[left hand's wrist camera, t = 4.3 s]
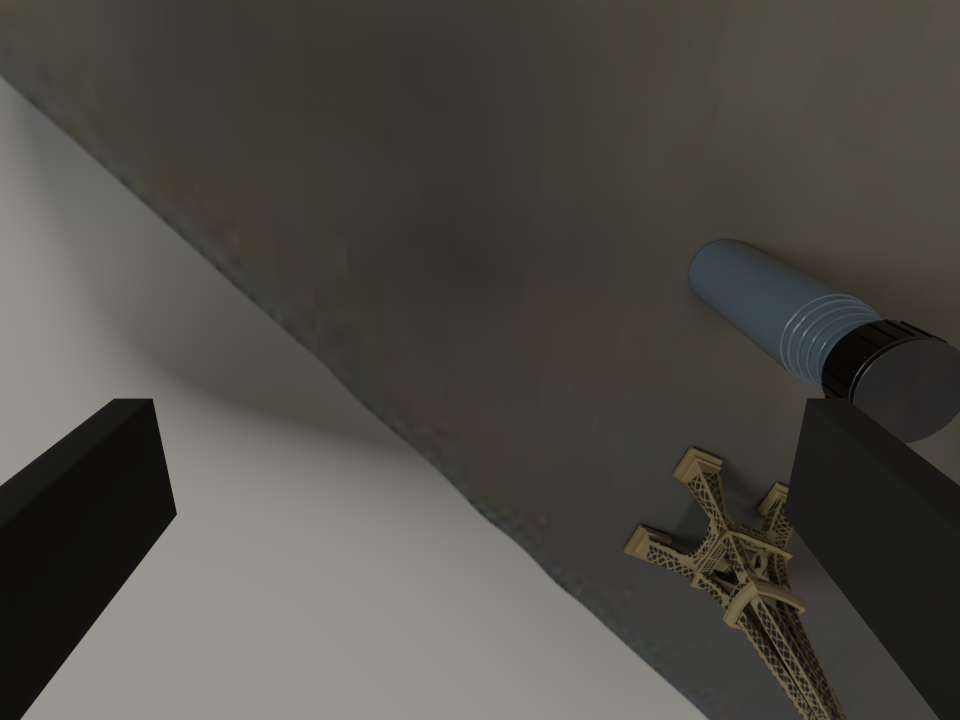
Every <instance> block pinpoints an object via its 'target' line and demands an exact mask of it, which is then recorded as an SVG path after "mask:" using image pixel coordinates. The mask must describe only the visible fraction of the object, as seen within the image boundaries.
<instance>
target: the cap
mask: <svg viewBox="0 0 960 720" xmlns="http://www.w3.org/2000/svg"><path fill="white" fill-rule="evenodd" d="M821 382H822V383H821V385H822V388H823V392H824V394H825V398H826V399H847V400H848V401H849V402H851V403H852V404H853V405H855V406H856V407H857V408H859V409H860V410H861V411H862V412H864V413H865V414H866V415H868V416H869V417H870V418H872V419H873V420H874V421H875V422H877V423H878V424H879V425H881V426H882V427H883V428H885V429H886V430H887V431H888V432H890V433H891V434H892V435H894V436H895V437H896V438H898V439H899V440H900V441H902V442H903V443H910V442H914V441H918V440H921V439H924V438H926V437H928V436H930V435H933V434H934V433H936V432H938V431H939V430H941V429H942V428H943V427H945V426H946V425H947V424H948V423H949V422H950V421H952V420H953V418H954V417H955V416H956V415H957V414H958V412H959V411H960V352H959V351H958V350H957V349H956V348H954V347H953V346H951V345H949V344H948V342H946V341H944V340H942V339H940V338H938V337H936V336H934V335H932V334H930V333H928V332H925V331H923V330H921V329H919V328H917V327H914V326H912V325H910V324H908V323H906V322H904V321H901V322H899V321H895V320H887V319H885V320H879V321H873V322H869V323H866V324H864V325H861V326H859V327H857V328H855V329H853V330H851V331H850V332H848V333H847V334H846V335H844V336H843V337H842V338H841V339H840V340H839V341H838V342H837V343H836V344H835V345H834V347H833V348H832V349H831V351H830V352H829V354H828V355H827V358H826V360H825V362H824V365H823V368H822V374H821Z"/></svg>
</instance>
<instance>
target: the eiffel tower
mask: <svg viewBox="0 0 960 720" xmlns="http://www.w3.org/2000/svg"><path fill="white" fill-rule="evenodd" d="M722 462H723V460H722V459H720V458H718V457H716V456H713V455H711V454H708V453H706V452H704V451H701V450H699V449H696V448H694V447H692V446H690V448H689V450H688V451H687V453H686V454H685V456H684V457H683V459H682V460H681V462H680V463H679V465H678V466H677V468H676V470H675V471H674V473H673V474H672V475H673V477H675V478H678V479H679V481H681V482H683V483H685V484H686V485H687V486H688V488H689V489H690V490H691V492H692V493H693V495H694V496H695V497H696V499H697V500H698V502H699V503H700V505H701V506H702V507H703V509H704V510H705V512H706V513H707V514H708V516H709V517H710V519H711V521H710V524H709V527H708V530H707V532H706V534H705V537H704V539H703V541H702V543H701V544H700V545H699V547H698V548H696V549H695V550H694V551H692V552H691V553H690V554H689V553H687V552H685V551H683V550H681V549H679V548H676V547H674V546H672V545H670V543H671V542H672V540H671V538H670V536H668V535H666V534H663V533H661V532H658V531H656V530H653V529H651V528H648V527H645V526H643V525H639V526H638V528H637V530H636V531H635V533H634V534H633V536H632V537H631V539H630V540H629V542H628V543H627V545H626V547H625V548H624V553H627V554H629V555H632V556H635V557H637V558H640V559H643V560H645V561H648V562H650V563H653V564H654V563H657V564H659V565H661V566H663V567H666V568H668V569H670V570H673V571H675V572H678V573H680V574H682V575H685V576H687V577H689V578H691V582H690V586H692V587H695V588H699V589H703V590H705V591H707V592H708V593H709V594H710V595H711V596H712V597H713V598H714V599H715V600H716V601H717V602H718V603H719V604H720V605H721V606H722V607H723V608H724V609H725V610H726V613H725V615H724V617H723V620H724V621H725V622H726V623H727V624H728V625H729V626H730V627H733V628H737V629H742V630H743V632H744V633H745V635H746V636H747V638H748V639H749V640H750V642H751V643H752V645H753V646H754V648H755V649H756V651H757V652H758V653H759V655H760V656H761V658H762V659H763V661H764V662H765V663H766V665H767V666H768V668H769V669H770V671H771V672H772V674H773V675H774V676H775V678H776V679H777V681H778V682H779V684H780V685H781V686H782V688H783V689H784V691H785V692H786V694H787V695H788V697H789V698H790V700H791V701H792V702H793V704H794V705H795V707H796V708H797V710H798V711H799V713H800V714H801V716H802V717H803V718H804V720H847V718H846V716H845V713H844V711H843V709H842V707H841V705H840V703H839V701H838V698H837V696H836V694H835V692H834V690H833V688H832V686H831V684H830V681H829V679H828V677H827V675H826V673H825V671H824V668H823V666H822V664H821V662H820V660H819V657H818V655H817V653H816V651H815V649H814V646H813V644H812V642H811V640H810V638H809V635H808V633H807V631H806V629H805V627H804V624H803V622H802V620H801V618H800V615H801V614H802V613H803V612H804V611H806V606H805V601H804V600H803V599H801V598H799V597H797V596H796V595H794V594H792V590H791V587H790V583H789V579H788V575H787V562H788V561H789V560H790V559H791V558H792V557H793V556H792V555H790V554H789V553H787V552H785V551H784V550H785V548H786V545H787V543H788V540H789V538H790V535H791V533H792V530H793V527H792V525H791V524H790V523H789V521H788V520H787V519H786V518H785V516H784V515H783V512H784V507H785V503H786V498H787V493H788V488H789V487H787V486H785V485H782V484H780V483H778V482H777V483H776V484H775V486H774V487H773V489H772V490H771V491H770V493H769V494H768V495H767V497H766V498H765V500H764V501H763V502H762V504H761V505H760V506H759V508H758V511H759V512H760V514H762V515H764V516H766V517H765V520H764V523H763V527H762V530H761V531H757V530H754V529H751V528H749V527H747V526H745V525H744V524H742V523H740V522H738V521H737V520H735V519H733V518H732V517H731V516H729V515H728V514H727V509H726V503H725V498H724V492H723V487H722V481H721V476H720V472H719V471H720V470H721V467H720V465H721V464H722ZM746 550H748V551H751V552H753V553H755V554H754V556H753V558H752V559H751V560H750V559H749V556H748V554H747V552H746ZM726 552H727V554H728V556H729V558H730V559H727V558H725V557H723V556H724V555H725V553H726Z"/></svg>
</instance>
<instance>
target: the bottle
mask: <svg viewBox="0 0 960 720" xmlns="http://www.w3.org/2000/svg"><path fill="white" fill-rule="evenodd" d="M689 282H690V286H691V288H692V290H693V292H694V293H695V295H696V296H697V297H698V298H699V299H701V300H702V301H703V302H704V303H705V304H707V305H708V306H709V307H710V308H711V309H713V310H714V311H715V312H716V313H718V314H719V315H720V316H721V317H722V318H724V319H725V320H726V321H727V322H728V323H730V324H731V325H732V326H733V327H734V328H736V329H737V330H738V331H739V332H741V333H742V334H743V335H744V336H745V337H747V338H748V339H749V340H750V341H751V342H753V343H754V344H755V345H756V346H757V347H759V348H760V349H761V350H762V351H764V352H765V353H766V354H767V355H768V356H770V357H771V358H772V359H773V360H774V361H776V362H777V363H778V364H779V365H781V366H782V367H783V368H784V369H785V370H787V371H788V372H789V373H790V374H791V375H793V376H794V377H795V378H797V379H799V380H801V381H803V382H804V383H806V384H808V385H811V386H814V387H816V388H819V389H823V388H822V385H821V383H822V382H821V374H822V368H823V365H824V362H825V360H826V358H827V355H828V354H829V352H830V351H831V349H832V348H833V347H834V345H835V344H836V343H837V342H838V341H839V340H840V339H841V338H842V337H843V336H844V335H846V334H847V333H848V332H850V331H851V330H853V329H855V328H857V327H859V326H861V325H864V324H866V323H869V322H873V321H879V320H883V319H882V318H881V317H880V316H879V315H878V314H877V313H876V311H875V310H874V309H873V308H871V307H870V306H869V305H867V304H866V303H864V302H863V301H862V300H860V299H858V298H857V297H855V296H852V295H850V294H848V293H846V292H844V291H842V290H840V289H838V288H836V287H834V286H832V285H829V284H827V283H825V282H823V281H821V280H819V279H817V278H815V277H813V276H811V275H809V274H806V273H804V272H802V271H800V270H798V269H796V268H794V267H792V266H790V265H788V264H786V263H783V262H781V261H779V260H777V259H775V258H773V257H771V256H769V255H767V254H765V253H763V252H760V251H758V250H756V249H754V248H752V247H750V246H748V245H746V244H744V243H742V242H739V241H737V240H732V239H723V240H718V241H715V242H712V243H710V244H708V245H707V246H705V247H704V248H703V249H702V250H701V251H700V252H699V253H698V254H697V255H696V257H695V258H694V260H693V262H692V264H691V267H690V271H689Z"/></svg>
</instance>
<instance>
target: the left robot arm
mask: <svg viewBox="0 0 960 720" xmlns="http://www.w3.org/2000/svg"><path fill="white" fill-rule="evenodd" d="M176 515H177V512H176V507H175V503H174V498H173V493H172V488H171V484H170V479H169V474H168V470H167V465H166V460H165V455H164V451H163V446H162V441H161V436H160V432H159V427H158V423H157V418H156V413H155V408H154V403H153V399H113V400H112V401H111V402H109V403H108V404H107V405H105V406H104V407H103V408H101V409H100V410H99V411H98V412H96V413H95V414H94V415H92V416H91V417H90V418H88V419H87V420H86V421H85V422H83V423H82V424H81V425H79V426H78V427H77V428H75V429H74V430H73V431H72V432H70V433H69V434H68V435H66V436H65V437H64V438H62V439H61V440H60V441H58V442H57V443H56V444H55V445H53V446H52V447H51V448H49V449H48V450H47V451H46V452H44V453H43V454H42V455H40V456H39V457H38V458H36V459H35V460H34V461H32V462H31V463H30V464H29V465H27V466H26V467H25V468H23V469H22V470H21V471H20V472H18V473H17V474H16V475H14V476H13V477H12V478H10V479H9V480H8V481H7V482H5V483H4V484H3V485H1V486H0V720H20V719H21V718H22V717H23V715H24V714H25V713H26V711H27V710H28V709H29V707H30V706H31V705H32V704H33V702H34V701H35V700H36V698H37V697H38V696H39V694H40V693H41V692H42V690H43V689H44V688H45V686H46V685H47V684H48V682H49V681H50V680H51V679H52V677H53V676H54V675H55V673H56V672H57V671H58V669H59V668H60V667H61V665H62V664H63V663H64V662H65V660H66V659H67V658H68V656H69V655H70V654H71V652H72V651H73V650H74V649H75V647H76V646H77V645H78V643H79V642H80V641H81V639H82V638H83V637H84V635H85V634H86V633H87V631H88V630H89V629H90V628H91V626H92V625H93V624H94V622H95V621H96V620H97V618H98V617H99V616H100V614H101V613H102V612H103V611H104V609H105V608H106V607H107V605H108V604H109V603H110V601H111V600H112V599H113V597H114V596H115V595H116V593H117V592H118V591H119V590H120V588H121V587H122V586H123V584H124V583H125V582H126V580H127V579H128V578H129V576H130V575H131V574H132V573H133V571H134V570H135V569H136V567H137V566H138V565H139V563H140V562H141V561H142V559H143V558H144V557H145V555H146V554H147V553H148V551H149V550H150V549H151V548H152V546H153V545H154V544H155V542H156V541H157V540H158V538H159V537H160V536H161V535H162V533H163V532H164V531H165V529H166V528H167V527H168V525H169V524H170V523H171V521H172V520H173V519H174V518H175V516H176ZM783 515H784V516H785V518H786V519H787V520H788V521H789V523H790V524H791V525H792V527H793V528H794V529H795V531H796V532H797V533H798V535H799V536H800V537H801V538H802V540H803V541H804V542H805V544H806V545H807V546H808V548H809V549H810V550H811V552H812V553H813V554H814V556H815V557H816V558H817V559H818V561H819V562H820V563H821V565H822V566H823V567H824V569H825V570H826V571H827V573H828V574H829V575H830V576H831V578H832V579H833V580H834V582H835V583H836V584H837V586H838V587H839V588H840V590H841V591H842V592H843V593H844V595H845V596H846V597H847V599H848V600H849V601H850V603H851V604H852V605H853V607H854V608H855V609H856V611H857V612H858V613H859V614H860V616H861V617H862V618H863V620H864V621H865V622H866V624H867V625H868V626H869V628H870V629H871V630H872V631H873V633H874V634H875V635H876V637H877V638H878V639H879V641H880V642H881V643H882V645H883V646H884V647H885V649H886V650H887V651H888V652H889V654H890V655H891V656H892V658H893V659H894V660H895V662H896V663H897V664H898V666H899V667H900V668H901V669H902V671H903V672H904V673H905V675H906V676H907V677H908V679H909V680H910V681H911V683H912V684H913V685H914V686H915V688H916V689H917V690H918V692H919V693H920V694H921V696H922V697H923V698H924V700H925V701H926V702H927V704H928V705H929V706H930V707H931V709H932V710H933V711H934V713H935V714H936V715H937V717H938V718H939V719H940V720H960V486H959V485H957V484H956V483H955V482H954V481H952V480H951V479H950V478H948V477H947V476H946V475H944V474H943V473H942V472H941V471H939V470H938V469H937V468H935V467H934V466H933V465H931V464H930V463H929V462H928V461H926V460H925V459H924V458H922V457H921V456H920V455H918V454H917V453H916V452H915V451H913V450H912V449H911V448H909V447H908V446H907V445H905V444H904V443H903V442H902V441H900V440H899V439H898V438H896V437H895V436H894V435H892V434H891V433H890V432H888V431H887V430H886V429H885V428H883V427H882V426H881V425H879V424H878V423H877V422H875V421H874V420H873V419H872V418H870V417H869V416H868V415H866V414H865V413H864V412H862V411H861V410H860V409H859V408H857V407H856V406H855V405H853V404H852V403H851V402H849V401H848V400H847V399H807V403H806V408H805V413H804V418H803V422H802V427H801V432H800V436H799V441H798V446H797V451H796V455H795V460H794V465H793V470H792V474H791V479H790V484H789V488H788V493H787V498H786V503H785V507H784V512H783Z"/></svg>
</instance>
